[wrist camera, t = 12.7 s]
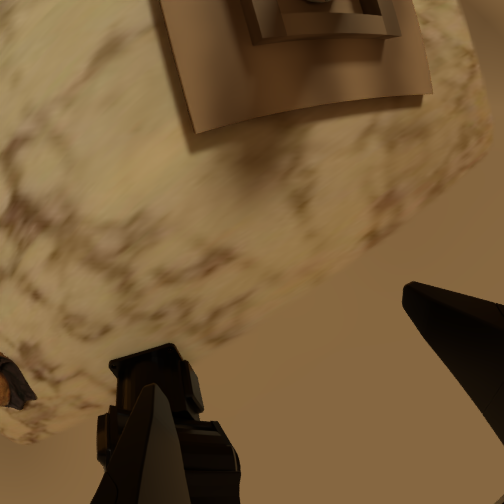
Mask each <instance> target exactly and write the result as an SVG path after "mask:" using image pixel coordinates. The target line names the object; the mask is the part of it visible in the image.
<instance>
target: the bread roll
mask: <svg viewBox="0 0 504 504" xmlns="http://www.w3.org/2000/svg"><path fill="white" fill-rule="evenodd" d="M36 398H37V396H36V394H35V393H34V392H33V390H32V389H31V388H30V386H29V385H28V383H27V382H26V380H25V379H24V377H23V375H22V373H21V371H20V370H19V368H18V367H17V365H16V364H15V363H14V362H13V361H12V360H10V359H9V358H8V357H6V356H4V355H3V353H1V352H0V406H5V407H12V408H15V409H17V410H22V409H23V406H24V403H25V402H26V401H31V400H36Z"/></svg>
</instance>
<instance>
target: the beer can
mask: <svg viewBox="0 0 504 504" xmlns="http://www.w3.org/2000/svg"><path fill="white" fill-rule="evenodd" d="M308 1H311V2H320V3H322V2H328V1H331V0H308Z"/></svg>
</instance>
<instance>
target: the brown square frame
mask: <svg viewBox="0 0 504 504" xmlns="http://www.w3.org/2000/svg"><path fill="white" fill-rule="evenodd" d="M159 2H160V6H161V10H162V14H163V18H164V22H165V25H166V29H167V33H168V37H169V41H170V45H171V49H172V52H173V56H174V60H175V64H176V68H177V71H178V75H179V79H180V82H181V86H182V90H183V93H184V97H185V101H186V104H187V108H188V112H189V115H190V119H191V122H192V126H193V129H194V133H195V134H198V133H201V132H205V131H208V130H211V129H215V128H219V127H222V126H226V125H230V124H233V123H237V122H241V121H245V120H249V119H254V118H258V117H262V116H267V115H271V114H276V113H280V112H285V111H290V110H295V109H301V108H306V107H312V106H318V105H324V104H330V103H337V102H344V101H352V100H360V99H368V98H378V97H389V96H403V95H420V94H433V89H432V83H431V77H430V71H429V66H428V60H427V56H426V51H425V46H424V42H423V38H422V34H421V30H420V26H419V22H418V19H417V15H416V12H415V9H414V5H413V2H412V0H331V1H328V2H322V3H320V2H311V1H308V0H159Z"/></svg>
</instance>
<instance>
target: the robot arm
mask: <svg viewBox="0 0 504 504" xmlns="http://www.w3.org/2000/svg"><path fill="white" fill-rule="evenodd" d="M402 305H403V308H404V310H405V311H406V313H407V314H408V316H409V317H410V319H411V320H412V322H413V323H414V324H415V326H416V327H417V329H418V330H419V332H420V334H421V335H422V336H423V338H424V339H425V340H426V341H427V343H428V344H429V345H430V346H431V348H432V349H433V350H434V351H435V353H436V354H437V355H438V356H439V358H440V359H441V360H442V361H443V363H444V364H445V365H446V366H447V367H448V369H449V370H450V372H451V373H452V374H453V375H454V377H455V378H456V379H457V380H458V382H459V383H460V384H461V386H462V387H463V388H464V390H465V391H466V392H467V394H468V395H469V396H470V398H471V399H472V400H473V402H474V403H475V405H476V406H477V407H478V409H479V410H480V411H481V413H483V416H484V417H485V419H486V420H487V422H488V423H489V424H490V426H491V427H492V429H493V430H494V432H495V433H496V435H497V436H498V438H499V439H500V441H501V442H502V444H503V445H504V305H502V304H498V303H494V302H490V301H487V300H483V299H479V298H476V297H472V296H468V295H464V294H461V293H457V292H453V291H449V290H445V289H441V288H438V287H434V286H430V285H426V284H422V283H418V282H415V281H412V282H410V283H408V284H406V285H405V286H404V288H403V297H402ZM170 348H171V350H169V349H170ZM113 365H115V366H113ZM109 369H110V370H111V371H112V372H113V374H114V375H115V376H116V378H117V393H116V406H112V405H110V406H109V411H108V413H106V414H104V415H100V416H98V420H97V460H98V461H99V462H100V463H101V464H102V466H103V467H104V472H105V473H104V475H103V478H102V480H101V482H100V485H99V487H98V489H97V491H96V493H95V495H94V497H93V499H92V501H91V503H90V504H240V497H239V484H240V478H241V471H240V462H239V458H238V455H237V453H236V451H235V449H234V448H233V446H232V444H231V443H230V441H229V439H228V438H227V436H226V434H225V433H224V431H223V429H222V428H221V426H220V424H219V423H218V421H210V422H207V421H200V418H199V413H202V412H203V411H204V406H203V401H202V397H201V392H200V388H199V382H198V377H197V376H196V374H195V372H194V371H193V369H192V367H191V365H190V364H189V362H188V361H186V360H183V358H182V357H181V355H180V353H179V351H178V350H177V348H176V346H175V345H174V344H172V343H167V344H164V345H161V346H158V347H155V348H151V349H148V350H145V351H141V352H138V353H135V354H131V355H128V356H124V357H121V358H118V359H114V360H111V361H110V362H109ZM495 504H504V495H503V496H502V497H501V498H500V499H499V500H498V501H497V502H496V503H495Z"/></svg>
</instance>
